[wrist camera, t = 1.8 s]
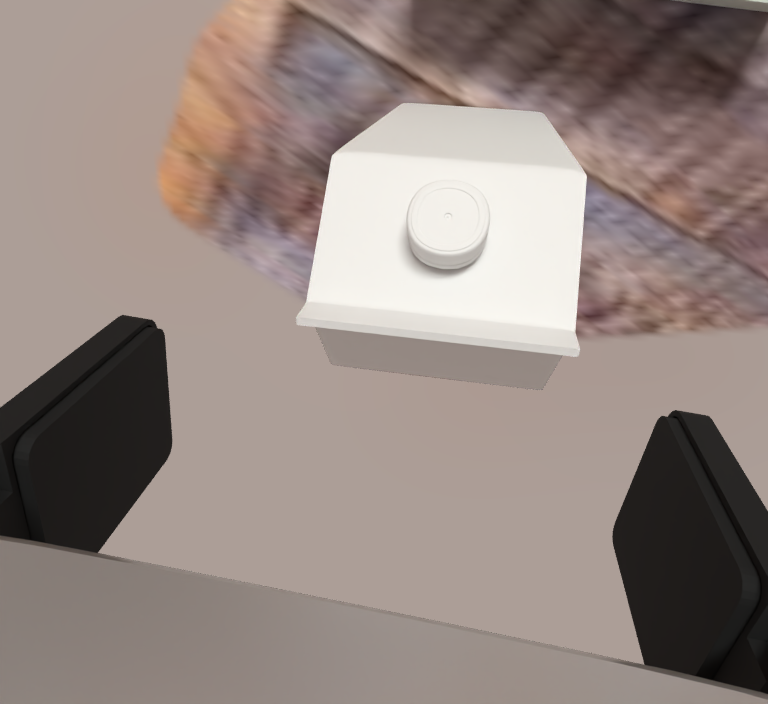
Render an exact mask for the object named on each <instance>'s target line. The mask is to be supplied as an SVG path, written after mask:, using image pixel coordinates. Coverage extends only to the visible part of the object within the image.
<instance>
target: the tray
mask: <svg viewBox="0 0 768 704" xmlns="http://www.w3.org/2000/svg"><path fill="white" fill-rule="evenodd" d="M672 1H680V2H688V3H696V4H705V5H713V6H721V7H729V8H737V9H745V10H754V11H762V12H768V0H672Z"/></svg>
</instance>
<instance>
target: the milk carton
mask: <svg viewBox="0 0 768 704" xmlns="http://www.w3.org/2000/svg"><path fill="white" fill-rule="evenodd" d="M586 178H587V175H586V174H585V172H584V170H583V169H582V167H581V166H580V164H579V163H578V161H577V160H576V159H575V157H574V156H573V154H572V153H571V152H570V150H569V149H568V147H567V146H566V144H565V143H564V142H563V140H562V139H561V137H560V136H559V135H558V133H557V132H556V130H555V129H554V127H553V126H552V125H551V123H550V122H549V120H548V119H547V118H546V116H545V115H544V114H543V113H541V112H534V111H521V110H506V109H492V108H477V107H462V106H447V105H433V104H418V103H402V104H401V105H399V106H398V107H397V108H395V109H394V110H392V111H391V112H390V113H388V114H387V115H386V116H384V117H383V118H381V119H380V120H379V121H377V122H376V123H375V124H373V125H372V126H370V127H369V128H368V129H366V130H365V131H364V132H362V133H361V134H359V135H358V136H357V137H355V138H354V139H352V140H351V141H350V142H348V143H347V144H346V145H344V146H343V147H342V148H340V149H339V150H338V151H337V152H335V153H334V154H333V155H332V159H331V165H330V170H329V176H328V181H327V187H326V193H325V199H324V204H323V210H322V216H321V221H320V227H319V233H318V238H317V244H316V250H315V256H314V261H313V267H312V273H311V278H310V284H309V290H308V295H307V301H306V304H305V305H304V307H303V308H302V310H301V311H300V312H299V314H298V315H297V317H296V324H297V325H303V326H313V327H315V328H316V330H317V333H318V335H319V337H320V339H321V342H322V344H323V346H324V349H325V351H326V353H327V356H328V358H329V360H330V362H331V364H333V365H338V366H345V367H353V368H361V369H369V370H377V371H386V372H393V373H402V374H410V375H419V376H426V377H434V378H443V379H452V380H459V381H467V382H476V383H484V384H493V385H500V386H508V387H517V388H525V389H535V390H543V388H544V386H545V385H546V383H547V381H548V380H549V378H550V376H551V375H552V373H553V371H554V370H555V368H556V366H557V364H558V363H559V361H560V359H561V358H562V356H563V355H565V356H574V357H578V356H579V353H580V347H579V344H578V340H577V337H576V333H575V328H576V314H577V301H578V287H579V274H580V260H581V247H582V233H583V220H584V206H585V193H586Z"/></svg>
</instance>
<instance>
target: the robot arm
mask: <svg viewBox="0 0 768 704" xmlns="http://www.w3.org/2000/svg"><path fill="white" fill-rule="evenodd" d="M171 448H172V430H171V418H170V403H169V388H168V375H167V360H166V347H165V335H164V332H163V330H161V329H158V328H157V326H156V324H155V322H154V321H153V320H148V319H143V318H137V317H132V316H126V315H122V316H120V317H118V318H117V319H115V320H114V321H113V322H111V323H110V324H109V325H108V326H106V327H105V328H104V329H102V330H101V331H100V332H98V333H97V334H96V335H95V336H93V337H92V338H90V339H89V340H88V341H87V342H85V343H84V344H83V345H81V346H80V347H79V348H78V349H76V350H75V351H74V352H72V353H71V354H70V355H68V356H67V357H66V358H64V359H63V360H62V361H61V362H59V363H58V364H57V365H56V366H54V367H53V368H51V369H50V370H49V371H47V372H46V373H45V374H44V375H43V376H41V377H40V378H38V379H37V380H36V381H35V382H33V383H32V384H31V385H29V386H28V387H27V388H25V389H24V390H23V391H21V392H20V393H19V394H18V395H16V396H15V397H14V398H12V399H11V400H10V401H8V402H7V403H6V404H5V405H3V406H2V407H1V408H0V704H768V511H767V509H766V508H765V506H764V504H763V503H762V501H761V499H760V498H759V496H758V495H757V493H756V491H755V490H754V488H753V486H752V485H751V483H750V482H749V480H748V478H747V476H746V475H745V473H744V471H743V470H742V468H741V467H740V465H739V463H738V462H737V460H736V458H735V457H734V455H733V453H732V452H731V450H730V449H729V447H728V445H727V443H726V442H725V440H724V439H723V437H722V435H721V434H720V432H719V430H718V429H717V427H716V425H715V424H714V422H713V420H712V419H711V418H710V417H709V416H706V415H700V414H694V413H689V412H683V411H677V410H675V411H672V412H671V413H670V414H669V416H668V417H665V416H661V417H660V418H659V419H658V420H657V422H656V424H655V427H654V429H653V432H652V434H651V437H650V439H649V442H648V444H647V446H646V449H645V451H644V454H643V456H642V459H641V461H640V463H639V466H638V469H637V471H636V473H635V476H634V478H633V480H632V483H631V485H630V488H629V490H628V493H627V495H626V498H625V500H624V502H623V505H622V507H621V510H620V512H619V514H618V517H617V519H616V522H615V525H614V528H613V546H614V549H615V553H616V557H617V561H618V565H619V569H620V573H621V576H622V580H623V584H624V588H625V592H626V595H627V599H628V603H629V607H630V611H631V614H632V618H633V622H634V626H635V629H636V634H637V637H638V641H639V645H640V649H641V653H642V656H643V660H644V664H645V665H642V664H638V663H633V662H629V661H624V660H620V659H615V658H610V657H606V656H602V655H597V654H592V653H587V652H583V651H578V650H573V649H568V648H564V647H558V646H554V645H549V644H544V643H540V642H535V641H530V640H525V639H521V638H516V637H511V636H506V635H501V634H497V633H492V632H487V631H482V630H477V629H473V628H468V627H463V626H458V625H454V624H449V623H444V622H439V621H434V620H429V619H424V618H419V617H415V616H410V615H404V614H400V613H395V612H390V611H385V610H380V609H375V608H370V607H365V606H361V605H355V604H351V603H346V602H341V601H336V600H331V599H326V598H321V597H316V596H311V595H306V594H302V593H296V592H292V591H286V590H282V589H277V588H272V587H267V586H262V585H257V584H252V583H247V582H241V581H237V580H232V579H227V578H222V577H217V576H212V575H206V574H201V573H196V572H191V571H186V570H181V569H176V568H171V567H166V566H161V565H156V564H151V563H145V562H140V561H135V560H130V559H125V558H120V557H115V556H110V555H105V554H100V553H98V552H99V550H100V549H101V548H102V546H103V545H104V544H105V542H106V541H107V539H108V538H109V537H110V536H111V534H112V533H113V532H114V530H115V529H116V527H117V526H118V524H119V523H120V522H121V521H122V519H123V518H124V517H125V515H126V514H127V513H128V511H129V510H130V509H131V507H132V506H133V505H134V503H135V502H136V501H137V499H138V498H139V497H140V495H141V494H142V493H143V491H144V490H145V488H146V487H147V486H148V485H149V483H150V482H151V481H152V479H153V478H154V477H155V475H156V474H157V472H158V471H159V470H160V468H161V467H162V465H163V464H164V463H165V462H166V460H167V458H168V456H169V454H170V452H171Z"/></svg>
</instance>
